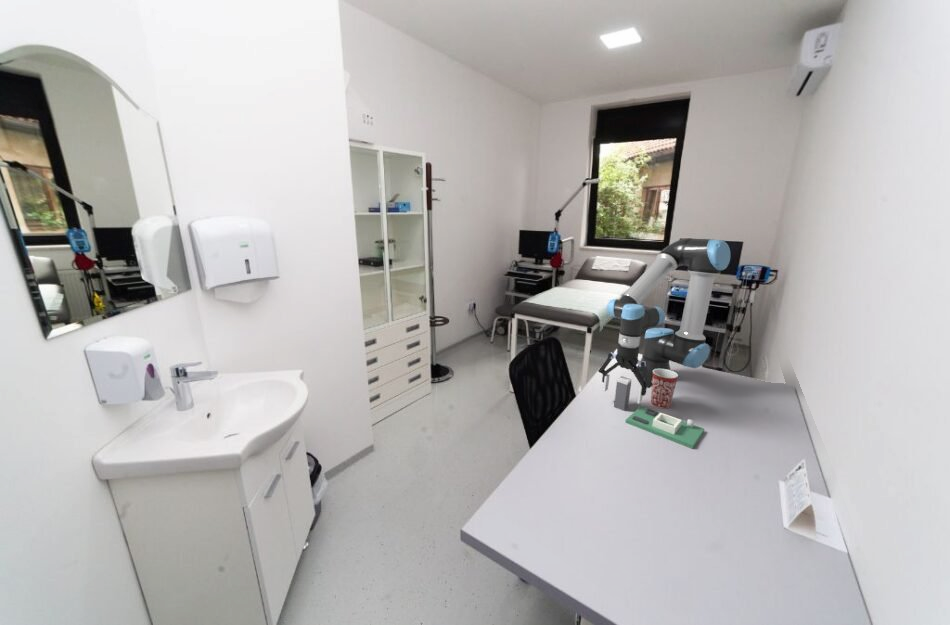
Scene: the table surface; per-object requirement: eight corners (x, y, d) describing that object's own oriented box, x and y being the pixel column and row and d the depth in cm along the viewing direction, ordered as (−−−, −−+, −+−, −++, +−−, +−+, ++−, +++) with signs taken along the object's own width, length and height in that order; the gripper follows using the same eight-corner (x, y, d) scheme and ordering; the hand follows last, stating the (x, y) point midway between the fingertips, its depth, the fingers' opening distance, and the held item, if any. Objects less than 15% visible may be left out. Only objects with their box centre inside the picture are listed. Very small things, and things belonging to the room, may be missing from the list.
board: (640, 408, 143) (641, 400, 142) (703, 431, 129) (705, 422, 128) (625, 422, 134) (626, 413, 133) (692, 448, 119) (694, 438, 118)
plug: (618, 403, 147) (621, 376, 144) (628, 407, 145) (631, 379, 142) (613, 407, 145) (617, 379, 142) (623, 410, 142) (627, 382, 139)
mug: (670, 411, 142) (676, 379, 138) (645, 404, 147) (650, 373, 143) (676, 399, 151) (681, 369, 148) (653, 393, 157) (657, 364, 153)
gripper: (593, 339, 144) (588, 388, 149) (660, 356, 127) (651, 411, 132) (602, 335, 149) (596, 383, 154) (667, 351, 132) (658, 404, 138)
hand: (621, 396), depth 143 cm, fingers open, 13 cm apart
